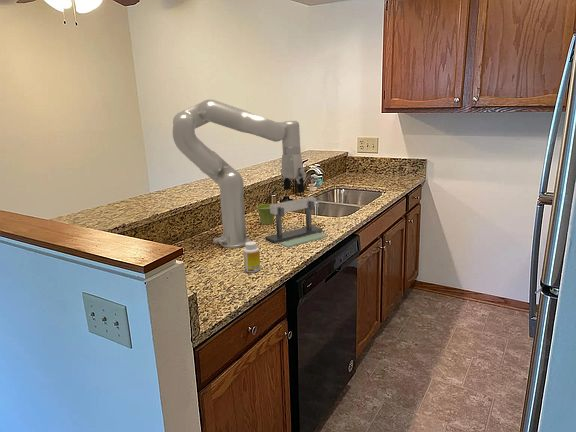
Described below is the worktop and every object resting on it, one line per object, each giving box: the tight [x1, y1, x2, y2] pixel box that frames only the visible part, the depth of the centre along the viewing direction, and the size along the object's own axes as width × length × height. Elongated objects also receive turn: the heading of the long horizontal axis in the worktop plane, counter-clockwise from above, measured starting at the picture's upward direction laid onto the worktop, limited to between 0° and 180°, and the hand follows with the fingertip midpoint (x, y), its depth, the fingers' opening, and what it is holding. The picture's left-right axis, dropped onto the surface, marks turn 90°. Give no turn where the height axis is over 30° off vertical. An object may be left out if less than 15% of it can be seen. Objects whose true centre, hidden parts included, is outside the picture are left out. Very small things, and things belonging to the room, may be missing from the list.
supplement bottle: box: [242, 240, 261, 274], centre depth 157 cm, size 6×6×10 cm
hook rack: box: [264, 201, 323, 245], centre depth 194 cm, size 26×7×14 cm, turn 125°
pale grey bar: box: [270, 196, 317, 216], centre depth 192 cm, size 22×4×4 cm, turn 125°
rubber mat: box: [279, 232, 328, 248], centre depth 188 cm, size 21×6×1 cm, turn 125°
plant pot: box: [256, 203, 275, 226], centre depth 216 cm, size 9×9×9 cm
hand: (294, 190), depth 190 cm, fingers open, 9 cm apart
